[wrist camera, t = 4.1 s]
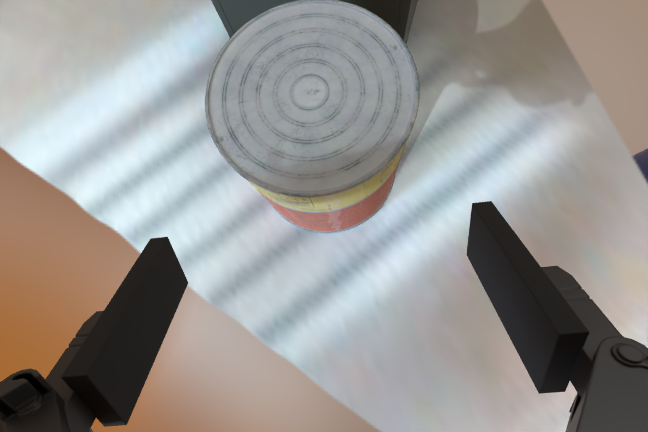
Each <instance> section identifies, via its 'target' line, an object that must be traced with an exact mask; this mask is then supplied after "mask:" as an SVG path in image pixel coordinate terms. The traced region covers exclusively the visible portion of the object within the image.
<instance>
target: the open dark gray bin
mask: <svg viewBox="0 0 648 432" xmlns="http://www.w3.org/2000/svg"><path fill="white" fill-rule="evenodd" d="M211 1H212V3H213V5H214V7H215V9H216V11H217V13H218V15H219V16H220V18H221V20H222V22H223V24H224V26H225V28H226V30H227V32H228V34H229V36H230V38H231V37H232V36H233V35H234V34H235V33H236V32H237V31H238V30H239V29H240V28H241V27H242V26H244V25H245V24H246V23H247V22H249V21H250V20H252V19H253V18H255V17H256V16H258V15H260V14H261V13H263V12H265V11H267V10H269V9H272V8H274V7H277V6H279V5H282V4H286V3H289V2H294V1H298V0H211ZM338 1H343V2H347V3H351V4H354V5H357V6H359V7H362V8H364V9H366V10H368V11H370V12H372V13H374V14H375V15H377V16H378V17H380V18H381V19H383V20H384V21H385V22H386V23H388V24H389V25H390V26H391V27H392V28H393V29H394V30H395V31H396V32H397V33H398V35H399V36H400V37H401V38H402V40H403V41H404V43H405V44H406V42H407V38H408V34H409V30H410V27H411V23H412V19H413V16H414V12H415V8H416V4H417V1H418V0H338Z"/></svg>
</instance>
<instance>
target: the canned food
mask: <svg viewBox="0 0 648 432" xmlns="http://www.w3.org/2000/svg"><path fill="white" fill-rule="evenodd" d="M419 95H420V92H419V79H418V73H417V69H416V65H415V63H414V60H413V57H412V55H411V53H410V51H409V49H408V47H407V46H406V44H405V43H404V41H403V40H402V38H401V37H400V36H399V35H398V33H397V32H396V31H395V30H394V29H393V28H392V27H391V26H390V25H389V24H388V23H386V22H385V21H384V20H383V19H381V18H380V17H378V16H377V15H375V14H374V13H372V12H370V11H368V10H366V9H364V8H362V7H359V6H357V5H354V4H351V3H347V2H343V1H338V0H298V1H294V2H289V3H286V4H282V5H279V6H277V7H274V8H272V9H269V10H267V11H265V12H263V13H261V14H260V15H258V16H256V17H255V18H253V19H252V20H250V21H249V22H247V23H246V24H245V25H244V26H242V27H241V28H240V29H239V30H238V31H237V32H236V33H235V34H234V35H233V36H232V37H231V38H230V39H229V41H228V42H227V43H226V44H225V46H224V47H223V49H222V50H221V52H220V53H219V55H218V57H217V59H216V60H215V62H214V65H213V67H212V70H211V72H210V75H209V79H208V83H207V88H206V96H205V111H206V119H207V123H208V128H209V131H210V134H211V137H212V139H213V141H214V143H215V145H216V147H217V149H218V150H219V152H220V153H221V155H222V156H223V157H224V159H225V160H226V161H227V162H228V164H229V165H230V166H231V167H232V168H233V169H234V170H235V171H237V172H238V173H239V174H240V175H241V176H242V177H244V178H245V179H247V180H248V181H249V182H250V183H251V184H252V185H253V186H254V187H255V188H256V189H257V190H258V191H259V192H260V193H261V194H262V195H263V196H264V197H265V198H266V199H267V200H268V201H269V202H270V203H271V204H272V206H273V207H274V208H275V209H276V211H277V212H278V213H279V214H280V215H281V216H282V217H284V218H285V219H286V220H288V221H289V222H290V223H292V224H294V225H296V226H298V227H300V228H302V229H305V230H309V231H313V232H320V233H333V232H340V231H344V230H348V229H351V228H353V227H356V226H358V225H360V224H362V223H363V222H365V221H366V220H368V219H369V218H370V217H372V216H373V215H374V214H375V213H376V212H377V211H378V210H379V209H380V207H381V206H382V205H383V204H384V202H385V201H386V199H387V197H388V195H389V193H390V191H391V188H392V185H393V182H394V177H395V173H396V170H397V167H398V164H399V161H400V158H401V155H402V152H403V149H404V146H405V143H406V140H407V139H408V137H409V135H410V133H411V130H412V128H413V125H414V122H415V119H416V116H417V111H418V106H419Z"/></svg>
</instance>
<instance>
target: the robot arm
mask: <svg viewBox="0 0 648 432" xmlns="http://www.w3.org/2000/svg"><path fill="white" fill-rule="evenodd" d="M467 256H468V258H469V260H470V262H471V264H472V266H473V268H474V270H475V272H476V274H477V275H478V277H479V279H480V281H481V283H482V285H483V287H484V289H485V291H486V293H487V295H488V297H489V298H490V300H491V302H492V304H493V306H494V308H495V310H496V312H497V314H498V316H499V318H500V320H501V321H502V323H503V325H504V327H505V329H506V331H507V333H508V335H509V337H510V339H511V341H512V343H513V345H514V346H515V348H516V350H517V352H518V354H519V356H520V358H521V360H522V362H523V364H524V366H525V368H526V369H527V371H528V373H529V375H530V377H531V379H532V381H533V383H534V385H535V387H536V389H537V391H538V392H539V393H552V392H565V390H566V388H567V386H568V383H569V381H571V383H572V384H573V386H574V387H575V389H576V391H577V392H578V393H577V395H576V397H575V400H574V402H573V404H572V406H571V409H570V411H569V412H571V415H570V418H569V422H568V425H567V429H566V432H648V348H647V347H645V346H644V345H643V344H641V343H639V342H637V341H634V340H632V339H629V338H625V337H623V336H622V335H621V334H620V333H619V332H618V330H617V329H616V328H615V327H614V326H613V324H612V323H611V322H610V321H609V320H608V318H607V317H606V316H605V315H604V314H603V312H602V311H601V310H600V309H599V308H598V306H597V305H596V304H595V303H594V302H593V300H592V299H590V298H589V296H588V294H587V293H586V292H585V291H584V290H582V288H581V286H580V285H579V284H578V282H577V281H576V280H575V279H574V278H573V276H572V275H570V274H569V273H567V272H566V271H564V270H563V269H561V268H559V267H558V266H550V267H540V265H539V264H538V263H537V262H536V260H535V259H534V258H533V256H532V255H531V254H530V252H529V251H528V250H527V248H526V247H525V246H524V244H523V243H522V242H521V240H520V239H519V238H518V236H517V235H516V234H515V232H514V231H513V230H512V228H511V227H510V226H509V224H508V223H507V222H506V220H505V219H504V218H503V216H502V215H501V214H500V212H499V211H498V210H497V208H496V207H495V206H494V204H493V203H492V202H491V201H489V202H480V203H472V211H471V220H470V228H469V237H468V246H467ZM187 284H188V281H187V279H186V277H185V274H184V272H183V270H182V268H181V266H180V263H179V261H178V259H177V257H176V255H175V252H174V250H173V248H172V246H171V244H170V241H169V239H168V237H162V238H153V239H150V241H149V242H148V244H147V245H146V247H145V248H144V250H143V251H142V253H141V254H140V256H139V258H138V259H137V261H136V262H135V264H134V265H133V267H132V268H131V270H130V271H129V273H128V274H127V276H126V278H125V279H124V281H123V282H122V284H121V286H120V287H119V288H118V290H117V291H116V293H115V295H114V296H113V298H112V299H111V301H110V302H109V304H108V305H107V307H106V308H105V310H104V311H98V312H96V313H94V315H92V316H91V317H90V318H89V319H88V320H87V321H86V322H84V324H83V325H82V327H81V328H80V330H79V331H78V333H77V334H76V338H73V340H72V341H71V343H70V344H69V348H67V349H66V350H65V352H64V353H63V354H62V356H61V357H60V359H59V360H58V362H57V363H56V365H55V366H54V368H53V369H52V370H51V372H50V374H49V375H48V376H47V378H46V379H44V378H43V377H42V376H41V374H40V373H39V372H38V371H37V370H34V369H25V370H21V371H19V372H16V373H14V374H12V375H10V376H9V377H7V378H6V379H4V380H3V381H1V382H0V432H93V431H92V429H91V426H92V424H93V422H94V420H95V418H97V419H98V420H99V421H100V422H101V423H102V424H103V426H118V425H127V423H128V421H129V418H130V416H131V414H132V411H133V409H134V407H135V404H136V402H137V400H138V397H139V395H140V393H141V390H142V388H143V386H144V384H145V381H146V379H147V377H148V374H149V372H150V370H151V368H152V365H153V363H154V361H155V358H156V356H157V354H158V351H159V349H160V346H161V344H162V342H163V340H164V337H165V335H166V333H167V330H168V328H169V326H170V323H171V321H172V319H173V317H174V314H175V312H176V310H177V307H178V305H179V303H180V300H181V298H182V296H183V294H184V291H185V289H186V287H187Z"/></svg>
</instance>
